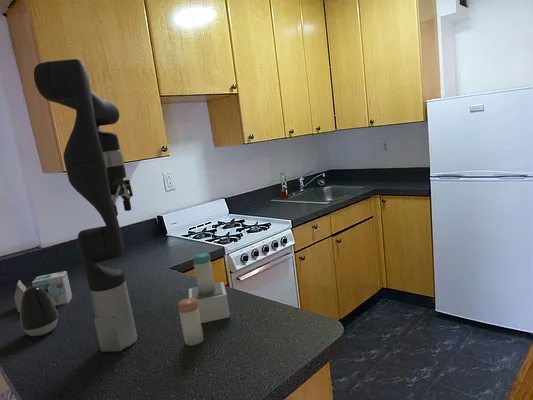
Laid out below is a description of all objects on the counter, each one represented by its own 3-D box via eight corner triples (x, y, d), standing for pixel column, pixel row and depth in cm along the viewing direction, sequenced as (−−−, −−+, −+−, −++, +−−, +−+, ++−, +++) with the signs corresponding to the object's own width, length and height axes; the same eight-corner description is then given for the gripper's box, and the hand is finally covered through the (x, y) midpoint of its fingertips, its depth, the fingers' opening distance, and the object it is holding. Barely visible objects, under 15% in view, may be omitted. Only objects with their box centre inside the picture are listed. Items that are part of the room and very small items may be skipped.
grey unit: (230, 316, 115) (226, 293, 114) (192, 325, 113) (188, 301, 112) (226, 301, 126) (223, 280, 125) (192, 309, 124) (188, 287, 123)
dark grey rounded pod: (55, 320, 130) (44, 278, 127) (65, 329, 123) (54, 283, 120) (20, 334, 123) (8, 289, 121) (29, 344, 116) (16, 296, 113)
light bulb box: (37, 310, 142) (30, 282, 140) (42, 303, 149) (36, 276, 147) (69, 303, 145) (62, 275, 143) (72, 296, 151) (66, 270, 149)
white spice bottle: (199, 345, 102) (192, 305, 100) (182, 345, 102) (174, 306, 101) (206, 335, 106) (199, 297, 104) (189, 335, 107) (182, 298, 105)
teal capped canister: (205, 295, 115) (199, 259, 113) (195, 292, 118) (189, 257, 117) (218, 288, 118) (212, 254, 117) (207, 286, 122) (202, 252, 120)
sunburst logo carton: (18, 312, 143) (11, 286, 141) (19, 306, 149) (13, 281, 147) (29, 308, 144) (22, 283, 143) (30, 303, 150) (24, 278, 149)
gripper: (109, 166, 120) (120, 217, 122) (133, 161, 133) (142, 207, 136) (88, 169, 121) (99, 219, 124) (113, 164, 135) (122, 209, 138)
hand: (121, 213), depth 130 cm, fingers open, 8 cm apart
